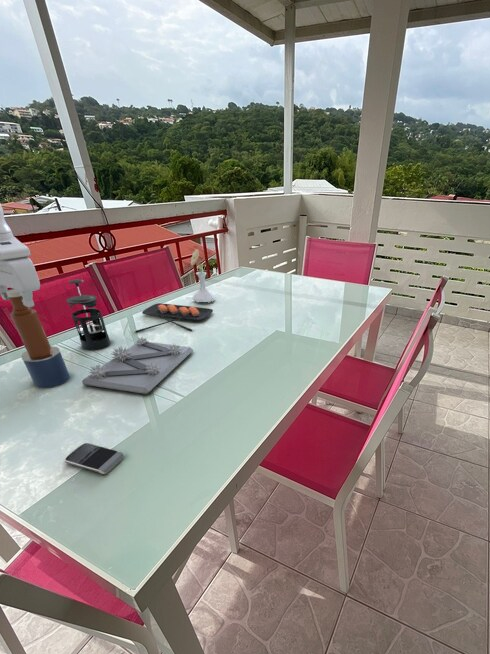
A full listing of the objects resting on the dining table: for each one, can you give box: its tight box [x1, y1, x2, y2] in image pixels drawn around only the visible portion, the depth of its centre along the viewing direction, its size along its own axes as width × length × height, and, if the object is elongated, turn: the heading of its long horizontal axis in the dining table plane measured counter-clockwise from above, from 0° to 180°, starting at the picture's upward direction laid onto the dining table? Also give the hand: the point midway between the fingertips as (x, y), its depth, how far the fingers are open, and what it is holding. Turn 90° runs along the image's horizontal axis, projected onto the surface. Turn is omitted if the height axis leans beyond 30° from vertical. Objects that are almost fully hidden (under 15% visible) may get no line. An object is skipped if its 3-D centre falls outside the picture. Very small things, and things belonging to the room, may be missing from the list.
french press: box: [66, 278, 112, 351], centre depth 114 cm, size 12×9×23 cm
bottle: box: [6, 288, 52, 357], centre depth 90 cm, size 6×6×18 cm
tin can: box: [20, 345, 71, 389], centre depth 97 cm, size 9×9×9 cm
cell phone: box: [63, 442, 124, 475], centre depth 73 cm, size 6×11×1 cm, turn 73°
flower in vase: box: [190, 248, 217, 304], centre depth 158 cm, size 13×11×25 cm
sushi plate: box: [135, 303, 214, 333], centre depth 141 cm, size 29×30×4 cm
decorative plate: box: [81, 337, 194, 395], centre depth 106 cm, size 30×22×7 cm
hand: (18, 302), depth 86 cm, fingers open, 8 cm apart
